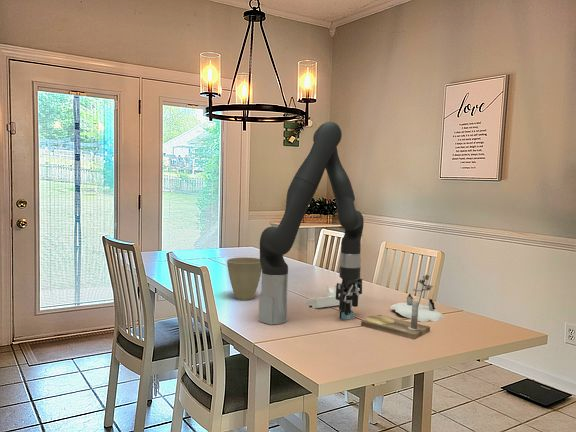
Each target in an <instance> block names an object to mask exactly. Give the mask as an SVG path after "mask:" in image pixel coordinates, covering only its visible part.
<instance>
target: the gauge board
mask: <svg viewBox="0 0 576 432" xmlns="http://www.w3.org/2000/svg"><path fill="white" fill-rule="evenodd" d="M418 303H419V301H413V302H412V318H411V319H410V320H411V321H407V320H402V319H398V318H393V317H389V316H386V315H381V314H377V315H369V316H367V317H365V319H364V320H361V322H360V326H361V327H365V328H369V329H373V330H377V331H380V332H384V333H388V334H392V335H395V336H400V337H403V338H408V339H412V340H414V339H417V338H419V337H422V336H423V335H425V334H427V333H429V332H430V331H431V326H428V325H423V324H420V323H418V322H419V321H418Z"/></svg>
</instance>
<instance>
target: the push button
mask: <svg viewBox="0 0 576 432" xmlns="http://www.w3.org/2000/svg"><path fill="white" fill-rule="evenodd" d="M344 293H347V292H344ZM354 296H355V294H353V292H350V294H349V296H347V298H346V310H345V311H344V312H343V311H340V310H339V316H338V317H339V319H341V320H342V321H345V320H353V319H354V318H357V315H355V312H354V311H353V308H352V307H353V306H352V300H354ZM343 298H344V295H343Z"/></svg>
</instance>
